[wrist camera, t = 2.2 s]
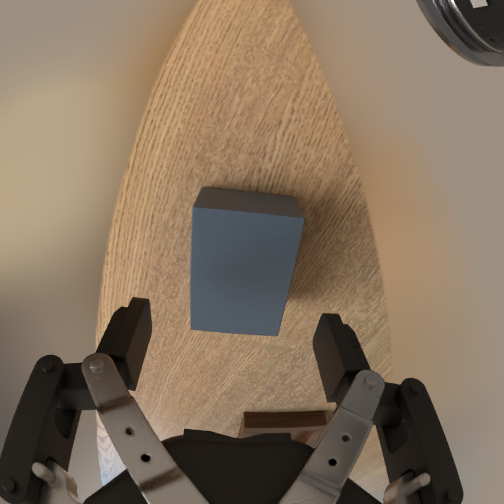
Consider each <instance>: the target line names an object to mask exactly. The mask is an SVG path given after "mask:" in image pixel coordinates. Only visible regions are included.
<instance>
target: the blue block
mask: <svg viewBox="0 0 504 504" xmlns="http://www.w3.org/2000/svg"><path fill="white" fill-rule="evenodd" d="M304 222H305V217H304V215H303V213H302V212H301V210H300V208H299V206H298V204H297V202H296V200H295V198H294V197H292V196H284V195H276V194H267V193H259V192H249V191H240V190H230V189H219V188H207V187H202V188H201V190H200V192H199V194H198V197H197V199H196V201H195V203H194V205H193V209H192V233H191V274H190V322H191V330H200V331H210V332H222V333H234V334H248V335H265V336H278V333H279V329H280V326H281V322H282V318H283V314H284V310H285V306H286V301H287V297H288V293H289V289H290V285H291V281H292V276H293V272H294V268H295V263H296V259H297V254H298V250H299V245H300V241H301V236H302V232H303V227H304Z"/></svg>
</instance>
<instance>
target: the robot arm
mask: <svg viewBox="0 0 504 504" xmlns="http://www.w3.org/2000/svg"><path fill="white" fill-rule="evenodd" d="M444 1H445V3H446V4H447V6H448V8H449V10H450V11H451V13H452V14H453V16H454V17H455V19H456V20H457V22H458V23H459V24H460V26H461V27H462V28H463V29H464V30H465V32H466V33H467V34H468V35H469V36H470V37H471V38H472V39H473V40H474V41H475V42H477V43H478V44H479V45H480V46H482V47H483V48H485V49H487V50H489V51H491V52H496V53H504V0H444ZM151 333H152V320H151V311H150V302H149V299H145V298H137V297H133V298H132V299H131V301H130V304H129V306H128V307H122V306H121V307H120V308H119V309H118V310H117V311H116V312H114V314H113V316H112V318H111V320H110V323H109V324H108V326H107V329H106V331H105V333H104V335H103V337H102V339H101V341H100V344H99V346H98V348H97V350H96V352H95V353H94V354H91V355H89V356H87V357H86V358H85V359H84V361H83V362H82V363H71V364H63V362H62V360H61V359H60V358H59V357H57V356H55V355H46V356H44V357H42V358H40V359H39V360H38V361H37V363H36V365H35V367H34V369H33V371H32V373H31V375H30V378H29V380H28V382H27V384H26V387H25V389H24V392H23V394H22V396H21V399H20V402H19V404H18V407H17V409H16V412H15V415H14V417H13V420H12V423H11V425H10V428H9V431H8V434H7V437H6V441H5V444H4V447H3V450H2V454H1V457H0V496H1V497H2V498H3V499H4V500H5V501H7V502H8V503H10V504H382V503H381V502H379V501H378V500H377V499H375V498H374V497H373V496H371V495H370V494H369V493H368V492H366V491H365V490H364V489H362V488H361V487H360V486H359V485H357V484H356V483H355V482H353V481H352V480H351V479H350V478H349V477H348V476H349V474H350V473H351V471H352V469H353V467H354V465H355V463H356V461H357V459H358V457H359V455H360V453H361V451H362V448H363V446H364V444H365V442H366V440H367V438H368V435H369V433H370V431H371V428H372V426H373V425H376V429H377V433H378V436H379V440H380V444H381V448H382V452H383V456H384V461H385V465H386V469H387V474H388V478H389V483H390V484H389V485H388V486H387V488H386V490H385V493H384V498H383V502H384V503H383V504H461V502H462V500H463V489H462V485H461V482H460V479H459V475H458V472H457V469H456V466H455V463H454V460H453V457H452V454H451V451H450V448H449V445H448V442H447V440H446V437H445V434H444V432H443V429H442V426H441V424H440V421H439V419H438V416H437V414H436V411H435V409H434V406H433V404H432V402H431V399H430V397H429V395H428V392H427V390H426V388H425V386H424V384H423V383H422V382H420V381H419V380H417V379H415V378H407V379H405V380H404V381H403V382H402V383H401V384H400V385H399V384H393V383H388V382H384V380H383V378H382V377H381V376H380V375H379V374H378V373H377V372H375V371H372V370H371V369H370V367H369V364H368V362H367V359H366V357H365V355H364V352H363V350H362V348H361V345H360V343H359V341H358V338H357V336H356V334H355V332H354V331H353V330H352V328H351V327H350V326H349V325H348V324H343V323H342V320H341V318H340V316H339V314H330V313H323V314H322V315H321V317H320V320H319V323H318V326H317V329H316V332H315V334H314V338H313V350H314V353H315V357H316V361H317V364H318V368H319V372H320V376H321V379H322V383H323V387H324V391H325V395H326V399H327V403H328V402H336V405H337V407H336V409H335V410H334V412H333V414H332V415H331V417H330V419H329V421H328V422H327V424H326V426H325V427H324V429H323V431H322V432H321V434H320V435H319V437H318V439H317V440H316V441H315V443H314V444H313V446H312V447H311V446H309V445H307V444H305V443H303V442H300V441H297V440H293V439H291V433H264V434H259V435H255V436H250V437H245V438H233V437H229V436H226V435H222V434H218V433H215V432H212V431H202V430H192V429H184V435H180V436H175V437H171V438H168V439H165V440H163V441H160V440H159V438H158V437H157V435H156V434H155V432H154V430H153V429H152V427H151V426H150V424H149V422H148V421H147V419H146V418H145V416H144V414H143V413H142V411H141V409H140V407H139V406H138V404H137V402H136V401H135V399H134V397H133V396H131V395H130V393H129V391H128V390H132V391H135V390H136V387H137V383H138V379H139V376H140V372H141V368H142V365H143V361H144V358H145V354H146V351H147V348H148V344H149V341H150V338H151ZM82 410H97V411H98V414H99V416H100V418H101V420H102V423H103V425H104V427H105V429H106V431H107V433H108V435H109V437H110V439H111V441H112V443H113V445H114V447H115V449H116V450H117V452H118V454H119V456H120V458H121V460H122V461H123V463H124V465H125V467H126V468H127V469H126V470H124V471H123V472H122V473H120V474H119V475H118V476H116V477H115V478H114V479H113V480H111V481H110V482H109V483H107V484H106V485H105V486H103V487H102V488H101V489H99V490H98V491H97V492H95V493H94V494H92V495H91V496H90V497H88V498H87V499H86V500H85V501H84V503H82V502H81V501H80V499H79V497H78V494H77V485H76V482H75V480H74V478H73V477H72V476H71V475H70V474H69V473H68V467H69V461H70V457H71V452H72V447H73V443H74V439H75V435H76V431H77V427H78V423H79V419H80V415H81V411H82Z"/></svg>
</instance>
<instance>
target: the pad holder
mask: <svg viewBox="0 0 504 504" xmlns="http://www.w3.org/2000/svg"><path fill="white" fill-rule="evenodd" d="M326 424H327V422H326V417H325V412H324V411H317V412H294V413H253V412H244V414H243V419H242V423H241V427H240V432H239V436H238V438H245V437H250V436H255V435H259V434H264V433H291V439H293V440H297V441H300V442H303V443H305V444H307V445H309V446H312V445H313V444H314V443H315V441H316V440H317V439H318V437H319V435H320V434H321V432H322V431H323V429H324V427H325V426H326Z"/></svg>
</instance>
